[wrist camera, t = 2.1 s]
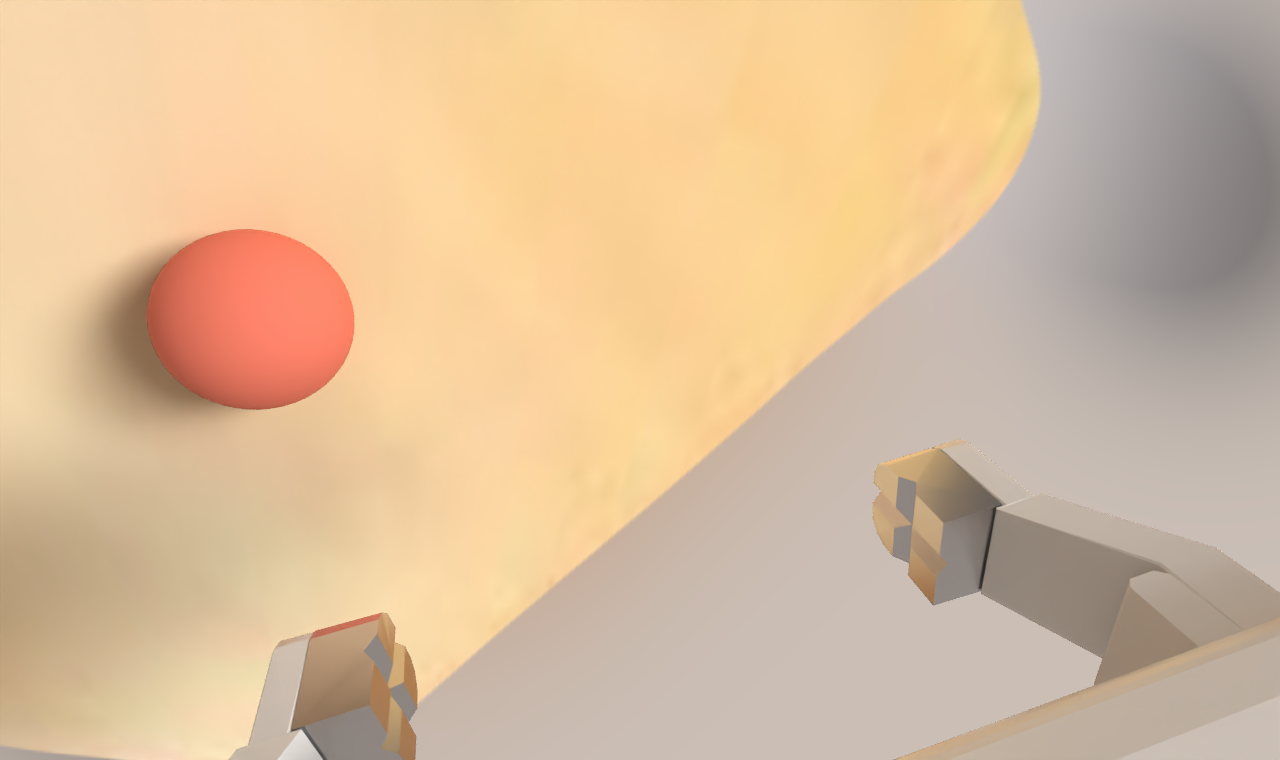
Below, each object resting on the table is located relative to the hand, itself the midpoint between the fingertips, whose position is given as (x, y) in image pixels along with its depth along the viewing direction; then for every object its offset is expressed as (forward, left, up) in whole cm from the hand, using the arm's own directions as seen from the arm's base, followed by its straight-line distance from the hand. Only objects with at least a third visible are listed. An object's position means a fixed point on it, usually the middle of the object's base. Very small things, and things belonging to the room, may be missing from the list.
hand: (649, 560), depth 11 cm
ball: (-9, 0, -16) cm, 18 cm away
